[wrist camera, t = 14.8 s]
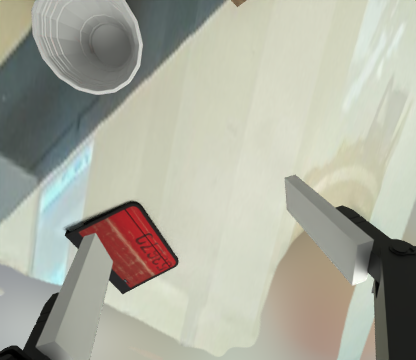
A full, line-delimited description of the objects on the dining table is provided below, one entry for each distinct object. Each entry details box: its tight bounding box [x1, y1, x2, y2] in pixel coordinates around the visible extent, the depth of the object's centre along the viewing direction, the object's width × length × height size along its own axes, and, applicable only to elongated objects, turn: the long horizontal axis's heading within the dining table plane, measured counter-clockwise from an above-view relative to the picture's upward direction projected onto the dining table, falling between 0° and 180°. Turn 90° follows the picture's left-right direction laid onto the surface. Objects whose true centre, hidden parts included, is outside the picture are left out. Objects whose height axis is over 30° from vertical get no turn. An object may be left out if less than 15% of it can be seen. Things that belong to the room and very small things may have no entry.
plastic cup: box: [32, 0, 143, 95], centre depth 29 cm, size 11×11×12 cm
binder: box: [65, 202, 178, 294], centre depth 51 cm, size 16×2×21 cm
